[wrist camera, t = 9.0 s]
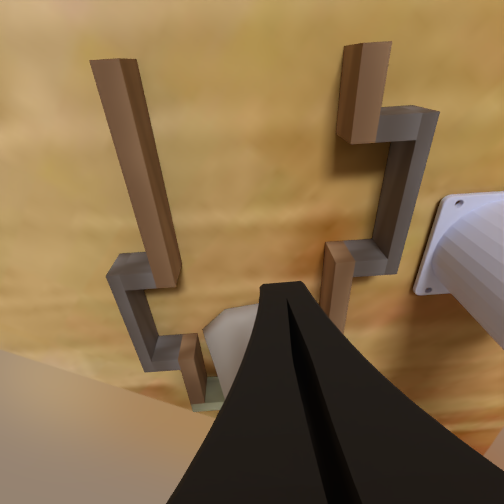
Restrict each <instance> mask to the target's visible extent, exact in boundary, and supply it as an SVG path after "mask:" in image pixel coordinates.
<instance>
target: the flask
mask: <svg viewBox="0 0 504 504" xmlns="http://www.w3.org/2000/svg"><path fill="white" fill-rule="evenodd" d="M258 305H259V303H258V304H253V305H247V306H241V307H235V308H229V309H225V310H224V311H222V312H221V313H220V314H219V315H218V316H217V317H216V318H215V319H213V320H212V321H211V322H210V323H209V324H208V325H207V326H206V327H204V328H203V329H202V330H203V333H204V336H205V339H206V342H207V345H208V348H209V351H210V354H211V357H212V360H213V362H214V365H215V369H216V372H217V375H218V379H219V382H220V385H221V388H222V392H223V395H224V398H225V399H226V397H227V395H228V393H229V390H230V388H231V386H232V384H233V381H234V379H235V377H236V374H237V372H238V370H239V367H240V365H241V362H242V359H243V356H244V354H245V351H246V348H247V345H248V342H249V340H250V336H251V333H252V329H253V326H254V322H255V319H256V314H257V310H258Z"/></svg>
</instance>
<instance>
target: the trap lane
mask: <svg viewBox="0 0 504 504" xmlns="http://www.w3.org/2000/svg"><path fill="white" fill-rule="evenodd" d="M391 45H392V41H388V42H372V43H360V44H354V45H348V46H344V54H343V65H342V75H341V86H340V96H339V107H338V117H337V128H336V134H337V135H338V136H340V137H341V138H342V139H344V140H345V141H347V142H348V143H349V144H363V143H378V142H391V144H390V149H389V154H388V159H387V165H386V170H385V175H384V180H383V185H382V190H381V196H380V201H379V206H378V211H377V216H376V221H375V227H374V232H373V237H372V239H363V240H349V241H334V242H326V243H325V253H324V264H323V274H322V285H321V295H320V307H321V308H322V310H323V311H324V312H325V313H326V315H327V316H328V317H329V318H330V320H331V321H332V322H333V323H334V324H335V325H336V327H337V328H338V329H339V330H340V331H341V333H342V334H343V333H344V327H345V321H346V315H347V309H348V303H349V297H350V291H351V285H352V279H353V277H362V276H376V275H391V274H397V271H398V267H399V264H400V260H401V256H402V252H403V249H404V245H405V241H406V237H407V234H408V230H409V226H410V222H411V219H412V215H413V211H414V207H415V204H416V200H417V196H418V192H419V188H420V185H421V181H422V177H423V173H424V170H425V166H426V162H427V158H428V155H429V151H430V147H431V143H432V140H433V136H434V132H435V128H436V125H437V121H438V117H439V113H440V112H439V111H435V110H431V109H426V108H422V107H418V106H414V105H409V106H394V107H381V105H382V99H383V93H384V87H385V81H386V75H387V69H388V63H389V57H390V51H391ZM89 61H90V65H91V68H92V71H93V75H94V78H95V82H96V85H97V88H98V92H99V95H100V98H101V102H102V105H103V109H104V112H105V115H106V119H107V122H108V126H109V129H110V132H111V136H112V139H113V142H114V146H115V149H116V153H117V156H118V159H119V163H120V166H121V169H122V173H123V176H124V180H125V183H126V186H127V190H128V193H129V197H130V200H131V203H132V207H133V210H134V213H135V217H136V220H137V224H138V227H139V230H140V234H141V237H142V241H143V244H144V247H145V251H146V252H138V253H123V254H119V256H118V257H117V259H116V260H115V262H114V264H113V265H112V267H111V269H110V270H109V272H108V273H107V275H106V278H107V281H108V283H109V285H110V288H111V290H112V293H113V295H114V298H115V300H116V303H117V305H118V308H119V310H120V313H121V315H122V318H123V320H124V323H125V325H126V327H127V330H128V332H129V335H130V337H131V340H132V342H133V345H134V347H135V350H136V352H137V355H138V357H139V360H140V362H141V364H142V367H143V369H144V372H157V371H171V370H181V372H182V376H183V379H184V383H185V386H186V389H187V393H188V396H189V399H190V403H191V406H192V410H193V412H199V411H212V410H220V409H221V407H222V405H223V403H224V401H225V398H224V395H223V392H222V388H221V385H220V382H219V379H218V377H207V374H206V370H205V365H204V361H203V356H202V352H201V347H200V343H199V338H198V334H197V333H194V334H180V335H166V336H159V335H158V332H157V329H156V326H155V323H154V320H153V317H152V314H151V311H150V308H149V305H148V302H147V299H146V296H145V293H144V290H143V289H154V288H169V287H176V284H177V281H178V277H179V273H180V270H181V266H182V262H181V258H180V253H179V249H178V244H177V240H176V235H175V231H174V226H173V222H172V217H171V213H170V208H169V204H168V199H167V195H166V190H165V186H164V181H163V177H162V172H161V168H160V163H159V159H158V154H157V150H156V145H155V141H154V136H153V132H152V127H151V123H150V118H149V114H148V109H147V105H146V100H145V96H144V91H143V87H142V82H141V78H140V73H139V69H138V64H137V60H136V59H120V58H118V59H102V60H89Z"/></svg>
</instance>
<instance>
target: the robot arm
mask: <svg viewBox="0 0 504 504" xmlns="http://www.w3.org/2000/svg"><path fill="white" fill-rule="evenodd" d="M458 200H459V202H458V203H457V204H456V205H455V203H456V202H457V201H458ZM427 288H428V289H427ZM413 291H414V292H415V294H416V295H432V294H446V293H451V294H452V295H453V296H454V297H455V298H456V299H457V300H458V301H459V303H460V304H461V305H462V306H463V307H464V308H465V309H466V310H467V311H468V312H469V313H470V314H471V315H472V316H473V318H474V319H475V320H476V321H477V322H478V323H479V324H480V325H481V326H482V327H483V328H484V329H485V330H486V331H487V333H488V334H489V335H490V336H491V337H492V338H493V339H494V340H495V341H496V342H497V343H498V344H499V345H500V346H501V348H502V349H503V350H504V191H497V192H482V193H467V194H452V195H447V196H445V197H444V198H443V199H442V200H441V202H440V204H439V207H438V211H437V214H436V217H435V220H434V223H433V226H432V230H431V233H430V236H429V239H428V242H427V246H426V249H425V252H424V255H423V258H422V261H421V265H420V268H419V271H418V274H417V277H416V281H415V284H414V287H413ZM166 504H504V471H503V470H502V469H500V468H499V467H497V466H496V465H494V464H493V463H492V462H490V461H489V460H488V459H486V458H485V457H484V456H482V455H481V454H479V453H478V452H477V451H475V450H474V449H473V448H471V447H470V446H469V445H467V444H466V443H464V442H463V441H462V440H460V439H459V438H458V437H456V436H455V435H454V434H453V433H451V432H450V431H449V430H448V429H446V428H445V427H444V426H443V425H441V424H440V423H439V422H438V421H436V420H435V419H434V418H433V417H431V416H430V415H429V414H428V413H426V412H425V411H424V410H422V409H421V408H420V407H419V406H417V405H416V404H415V403H414V402H413V401H411V400H410V399H409V398H408V397H407V396H406V395H405V394H403V393H402V392H401V391H400V390H399V389H398V388H397V387H395V386H394V385H393V384H392V383H391V382H390V381H389V380H388V379H387V378H385V377H384V376H383V375H382V374H381V373H380V372H379V371H378V370H377V369H376V368H375V367H374V366H373V365H372V364H371V363H370V362H369V361H368V360H367V359H366V358H365V357H364V356H363V355H362V354H361V353H360V352H359V351H358V350H357V349H356V348H355V347H354V346H353V345H352V344H351V343H350V342H349V340H348V339H347V338H346V337H345V336H344V335H343V334H342V333H341V331H340V330H339V329H338V328H337V327H336V325H335V324H334V323H333V322H332V321H331V320H330V318H329V317H328V316H327V315H326V313H325V312H324V311H323V310H322V308H321V307H320V306H319V304H318V303H317V302H316V300H315V299H314V298H313V296H312V295H311V293H310V292H309V290H308V289H307V287H306V286H305V284H304V283H303V282H301V281H295V282H283V283H270V284H263V285H262V286H260V297H259V305H258V310H257V314H256V319H255V322H254V326H253V329H252V333H251V336H250V340H249V342H248V345H247V348H246V351H245V354H244V356H243V359H242V362H241V365H240V367H239V370H238V372H237V374H236V377H235V379H234V381H233V384H232V386H231V388H230V390H229V393H228V395H227V397H226V399H225V401H224V403H223V405H222V407H221V409H220V411H219V413H218V415H217V417H216V419H215V421H214V423H213V425H212V427H211V429H210V431H209V432H208V434H207V436H206V438H205V440H204V441H203V443H202V445H201V447H200V448H199V450H198V452H197V454H196V455H195V457H194V459H193V461H192V462H191V464H190V466H189V467H188V469H187V471H186V473H185V474H184V476H183V478H182V479H181V481H180V483H179V484H178V486H177V487H176V489H175V491H174V492H173V494H172V495H171V497H170V498H169V500H168V502H167V503H166Z"/></svg>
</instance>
